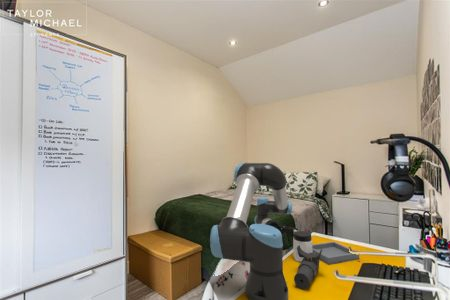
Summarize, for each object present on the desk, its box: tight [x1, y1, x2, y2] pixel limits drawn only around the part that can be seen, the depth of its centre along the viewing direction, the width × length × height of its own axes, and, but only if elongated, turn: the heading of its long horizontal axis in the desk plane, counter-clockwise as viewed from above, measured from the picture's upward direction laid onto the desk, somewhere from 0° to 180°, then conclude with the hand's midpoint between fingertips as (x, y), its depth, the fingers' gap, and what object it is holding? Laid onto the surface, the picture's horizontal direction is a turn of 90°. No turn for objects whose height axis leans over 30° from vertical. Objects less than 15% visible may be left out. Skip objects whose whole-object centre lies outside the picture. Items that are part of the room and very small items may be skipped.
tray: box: [312, 241, 360, 266], centre depth 116 cm, size 18×16×3 cm
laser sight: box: [293, 245, 322, 290], centre depth 96 cm, size 10×22×10 cm, turn 149°
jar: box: [292, 230, 313, 263], centre depth 112 cm, size 9×8×12 cm
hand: (290, 237), depth 122 cm, fingers open, 13 cm apart
